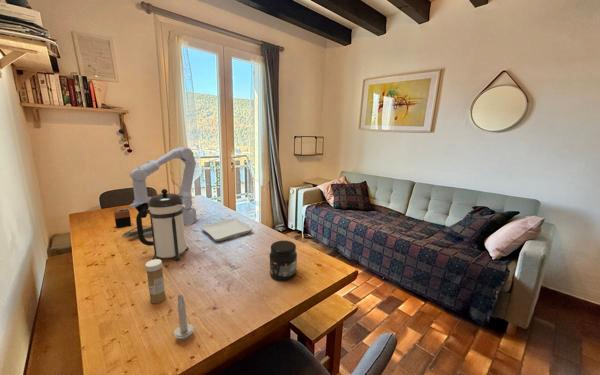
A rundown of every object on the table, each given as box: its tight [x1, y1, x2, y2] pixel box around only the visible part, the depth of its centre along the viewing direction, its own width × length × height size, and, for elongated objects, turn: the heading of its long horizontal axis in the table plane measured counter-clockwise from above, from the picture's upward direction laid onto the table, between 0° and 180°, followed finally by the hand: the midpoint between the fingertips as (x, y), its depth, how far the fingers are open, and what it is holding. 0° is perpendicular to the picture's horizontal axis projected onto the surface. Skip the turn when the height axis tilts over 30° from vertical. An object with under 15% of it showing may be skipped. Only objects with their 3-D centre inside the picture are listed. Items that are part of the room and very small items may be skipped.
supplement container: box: [269, 240, 298, 282], centre depth 96 cm, size 10×10×12 cm
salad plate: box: [200, 217, 254, 242], centre depth 135 cm, size 21×21×3 cm
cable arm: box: [126, 225, 152, 238], centre depth 128 cm, size 14×4×4 cm, turn 141°
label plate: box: [121, 225, 153, 239], centre depth 133 cm, size 15×13×1 cm
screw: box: [173, 294, 195, 342], centre depth 66 cm, size 13×5×5 cm
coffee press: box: [135, 188, 189, 262], centre depth 106 cm, size 17×16×30 cm
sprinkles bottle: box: [144, 258, 167, 304], centre depth 80 cm, size 5×5×13 cm
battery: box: [113, 207, 132, 229], centre depth 139 cm, size 4×7×10 cm, turn 130°
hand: (143, 217), depth 131 cm, fingers closed
